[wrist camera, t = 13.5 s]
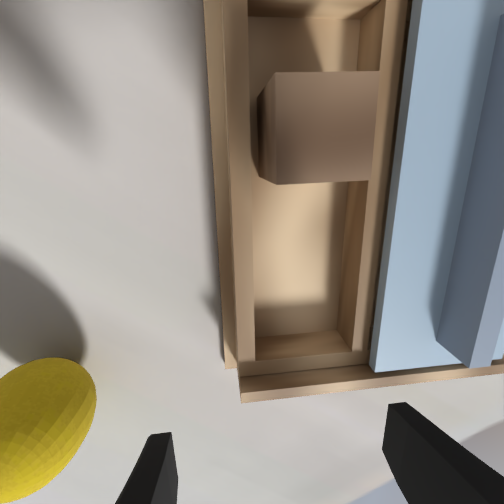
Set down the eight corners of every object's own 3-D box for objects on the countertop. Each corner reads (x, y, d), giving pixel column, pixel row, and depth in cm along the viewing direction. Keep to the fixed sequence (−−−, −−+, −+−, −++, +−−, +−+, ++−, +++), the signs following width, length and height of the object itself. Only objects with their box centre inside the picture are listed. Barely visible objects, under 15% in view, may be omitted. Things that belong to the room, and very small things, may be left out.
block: (256, 98, 15) (275, 72, 11) (330, 96, 16) (380, 70, 11) (258, 176, 17) (276, 185, 12) (327, 173, 17) (370, 180, 12)
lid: (593, -24, 13) (702, -75, 10) (492, 351, 19) (542, 387, 16) (416, -32, 12) (480, -92, 9) (368, 364, 18) (398, 404, 15)
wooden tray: (550, -22, 16) (661, -80, 12) (465, 339, 23) (518, 377, 19) (200, -38, 14) (195, -116, 10) (224, 363, 21) (227, 411, 17)
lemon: (4, 353, 19) (-138, 487, 11) (83, 318, 19) (-5, 429, 11) (56, 413, 21) (-35, 563, 13) (129, 381, 20) (80, 514, 13)
